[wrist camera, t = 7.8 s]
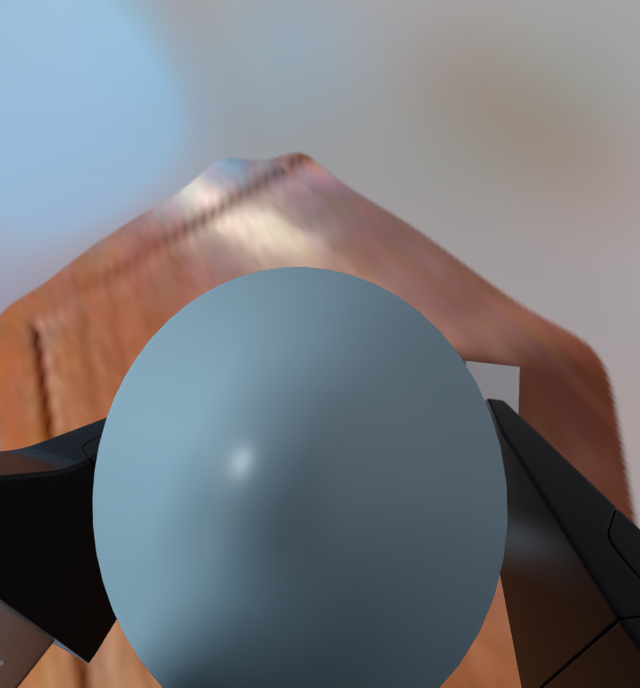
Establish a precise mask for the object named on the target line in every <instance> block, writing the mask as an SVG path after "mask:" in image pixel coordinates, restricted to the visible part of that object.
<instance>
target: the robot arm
mask: <svg viewBox="0 0 640 688" xmlns="http://www.w3.org/2000/svg"><path fill="white" fill-rule="evenodd" d="M485 403H486V405H487V407H488V409H489V411H490V414H491V417H492V421H493V424H494V427H495V430H496V434H497V437H498V440H499V444H500V447H501V453H502V459H503V465H504V471H505V477H506V485H507V517H508V522H507V531H506V540H505V550H504V559H503V563H502V567H501V571H500V577H501V582H502V587H503V592H504V597H505V603H506V608H507V613H508V618H509V624H510V629H511V634H512V639H513V645H514V650H515V655H516V660H517V666H518V671H519V676H520V681H521V687H522V688H640V529H639V528H638V527H637V526H636V525H635V524H634V523H632V522H631V521H630V520H629V519H628V518H627V517H626V516H625V515H624V514H623V513H622V512H621V511H620V510H615V509H616V507H615V506H614V505H613V504H612V503H611V502H610V501H609V500H608V499H607V498H606V497H605V496H604V495H603V494H602V493H601V492H600V491H599V490H598V489H596V488H595V487H594V486H593V485H592V484H591V483H590V482H589V481H588V480H587V479H586V478H585V477H584V476H583V475H582V474H581V473H580V472H579V471H577V470H576V469H575V468H574V467H573V466H572V465H571V464H570V463H569V462H568V461H567V460H566V459H565V458H564V457H563V456H562V455H561V454H560V453H559V452H557V451H556V450H555V449H554V448H553V447H552V446H551V445H550V444H549V443H548V442H547V441H546V440H545V439H544V438H543V437H542V436H541V435H540V434H539V433H537V432H536V431H535V430H534V429H533V428H532V427H531V426H530V425H529V424H528V423H527V422H526V421H525V420H524V419H523V418H522V417H521V416H520V415H518V414H517V413H516V412H515V411H514V410H513V409H512V408H511V407H510V406H509V405H508V404H507V403H506V402H505V401H503V400H498V399H491V398H488V399H486V401H485ZM106 419H107V418H104V419H102V420H99V421H96V422H94V423H91V424H89V425H86V426H83V427H81V428H78V429H75V430H73V431H70V432H67V433H65V434H62V435H59V436H57V437H54V438H51V439H48V440H46V441H43V442H40V443H38V444H35V445H32V446H29V447H25V448H21V449H16V450H10V451H0V688H18V687H19V686H20V684H21V683H22V682H23V680H24V679H25V678H26V677H27V675H28V674H29V673H30V672H31V670H32V669H33V668H34V666H35V665H36V664H37V663H38V661H39V660H40V659H41V658H42V656H43V655H44V654H45V652H46V651H47V650H48V649H49V647H50V646H51V645H52V644H55V645H57V646H58V647H60V648H62V649H64V650H66V651H67V652H69V653H71V654H73V655H74V656H76V657H78V658H80V659H81V660H83V661H85V662H87V663H89V662H90V661H91V659H92V658H93V657H94V655H95V654H96V652H97V651H98V649H99V647H100V646H101V644H102V642H103V641H104V639H105V638H106V636H107V634H108V633H109V631H110V629H111V628H112V626H113V624H114V623H115V621H116V619H117V618H116V616H115V613H114V611H113V609H112V606H111V603H110V600H109V598H108V595H107V592H106V589H105V586H104V583H103V579H102V575H101V571H100V566H99V562H98V557H97V553H96V545H95V536H94V528H93V486H94V473H95V466H96V461H97V455H98V449H99V444H100V440H101V437H102V433H103V429H104V426H105V422H106Z"/></svg>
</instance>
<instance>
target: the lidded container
mask: <svg viewBox="0 0 640 688" xmlns="http://www.w3.org/2000/svg"><path fill="white" fill-rule="evenodd" d="M507 522H508V517H507V485H506V477H505V471H504V465H503V459H502V453H501V447H500V444H499V440H498V437H497V434H496V430H495V427H494V424H493V421H492V417H491V414H490V411H489V409H488V407H487V405H486V403H485V400H484V398H483V396H482V394H481V392H480V389H479V387H478V385H477V383H476V381H475V379H474V378H473V376H472V375H471V373H470V371H469V370H468V368H467V367H466V365H465V363H464V362H463V360H462V358H461V357H460V355H459V354H458V353H457V352H456V350H455V349H454V348H453V347H452V345H451V344H450V343H449V342H448V341H447V339H446V338H445V337H444V336H443V334H442V333H441V332H440V331H439V330H438V329H437V328H436V327H435V326H434V325H433V324H432V323H431V322H429V321H428V320H427V319H426V318H425V317H424V316H423V315H422V314H421V313H420V312H419V311H417V310H416V309H415V308H413V307H412V306H410V305H409V304H408V303H406V302H405V301H403V300H402V299H401V298H399V297H398V296H396V295H394V294H392V293H391V292H389V291H387V290H385V289H383V288H381V287H379V286H378V285H376V284H374V283H371V282H368V281H366V280H363V279H360V278H358V277H355V276H353V275H349V274H345V273H341V272H336V271H332V270H328V269H318V268H308V267H291V268H277V269H271V270H264V271H259V272H255V273H252V274H248V275H244V276H241V277H238V278H236V279H233V280H231V281H228V282H226V283H223V284H221V285H219V286H217V287H215V288H213V289H211V290H210V291H208V292H206V293H204V294H202V295H201V296H199V297H198V298H196V299H195V300H193V301H192V302H191V303H189V304H188V305H186V306H185V307H183V308H182V309H181V310H180V311H179V312H178V313H176V314H175V315H174V316H173V317H172V318H171V319H170V320H168V321H167V322H166V323H165V324H164V325H163V326H162V327H161V329H160V330H159V331H158V332H157V333H156V334H155V335H154V336H153V337H152V338H151V339H150V341H149V342H148V343H147V345H146V346H145V347H144V349H143V350H142V351H141V353H140V354H139V355H138V357H137V358H136V360H135V361H134V363H133V364H132V366H131V368H130V369H129V371H128V373H127V374H126V376H125V378H124V380H123V382H122V384H121V386H120V388H119V390H118V392H117V394H116V396H115V398H114V401H113V403H112V406H111V409H110V411H109V414H108V417H107V419H106V422H105V426H104V429H103V433H102V437H101V440H100V444H99V449H98V455H97V461H96V466H95V473H94V486H93V528H94V536H95V545H96V553H97V557H98V562H99V566H100V571H101V575H102V579H103V583H104V586H105V589H106V592H107V595H108V598H109V600H110V603H111V606H112V609H113V611H114V613H115V616H116V618H117V620H118V622H119V624H120V626H121V628H122V630H123V632H124V634H125V637H126V638H127V640H128V641H129V643H130V644H131V646H132V648H133V649H134V651H135V652H136V654H137V655H138V657H139V659H140V660H141V662H142V663H143V664H144V665H145V667H146V668H147V669H148V670H149V672H150V673H151V674H152V675H153V676H154V678H155V679H156V680H157V681H158V682H159V684H160V685H161V686H162V687H163V688H439V687H440V686H441V685H442V684H443V683H444V682H445V681H446V679H447V678H448V677H449V676H450V675H451V674H452V673H453V671H454V670H455V669H456V668H457V667H458V666H459V664H460V662H461V661H462V659H463V658H464V656H465V654H466V653H467V651H468V650H469V648H470V646H471V645H472V643H473V641H474V640H475V638H476V637H477V635H478V633H479V631H480V629H481V626H482V624H483V622H484V619H485V617H486V615H487V612H488V610H489V607H490V605H491V603H492V600H493V598H494V595H495V591H496V587H497V583H498V579H499V575H500V571H501V567H502V563H503V559H504V550H505V540H506V531H507Z"/></svg>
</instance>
